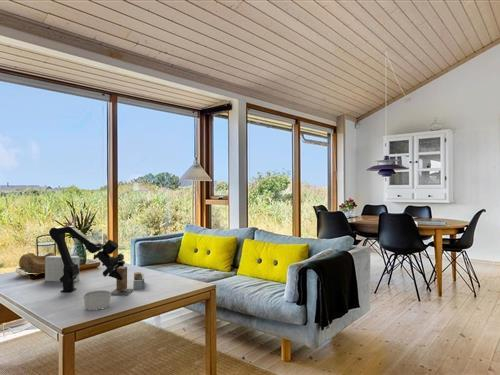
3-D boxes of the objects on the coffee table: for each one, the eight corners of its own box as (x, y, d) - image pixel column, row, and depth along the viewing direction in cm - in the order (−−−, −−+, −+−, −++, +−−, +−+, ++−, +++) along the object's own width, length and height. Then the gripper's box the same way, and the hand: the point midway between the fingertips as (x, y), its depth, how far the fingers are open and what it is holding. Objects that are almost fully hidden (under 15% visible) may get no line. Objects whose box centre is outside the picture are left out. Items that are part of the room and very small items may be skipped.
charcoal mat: (127, 295, 207) (127, 294, 207) (108, 295, 208) (108, 294, 208) (134, 289, 218) (134, 288, 218) (117, 289, 219) (117, 288, 219)
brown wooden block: (116, 290, 210) (116, 268, 210) (120, 288, 216) (120, 266, 215) (123, 291, 210) (123, 268, 210) (127, 288, 215) (127, 266, 215)
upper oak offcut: (134, 280, 224) (134, 274, 224) (134, 278, 228) (134, 272, 228) (141, 279, 226) (141, 273, 226) (140, 278, 229) (140, 271, 229)
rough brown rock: (21, 280, 239) (22, 258, 238) (17, 273, 251) (18, 252, 250) (60, 276, 254) (61, 255, 253) (54, 269, 267) (55, 250, 266)
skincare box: (80, 279, 239) (79, 256, 239) (75, 282, 234) (75, 257, 234) (49, 278, 241) (49, 255, 241) (44, 281, 236) (44, 256, 236)
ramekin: (114, 302, 195) (114, 290, 195) (105, 311, 182) (105, 298, 182) (89, 303, 194) (89, 290, 194) (79, 311, 181) (79, 298, 181)
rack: (133, 289, 219) (133, 279, 219) (134, 282, 233) (134, 273, 233) (144, 288, 221) (144, 278, 221) (144, 282, 235) (144, 272, 235)
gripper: (107, 253, 203) (126, 273, 203) (122, 247, 222) (139, 265, 221) (94, 266, 204) (113, 286, 203) (109, 259, 223) (127, 277, 222)
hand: (124, 278), depth 213 cm, fingers closed on brown wooden block, 5 cm apart
